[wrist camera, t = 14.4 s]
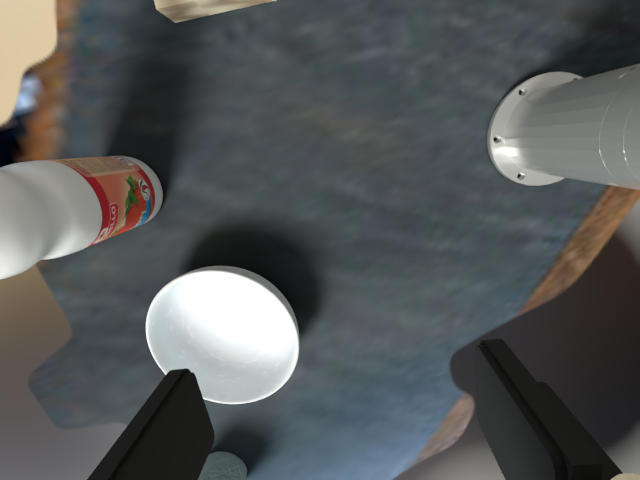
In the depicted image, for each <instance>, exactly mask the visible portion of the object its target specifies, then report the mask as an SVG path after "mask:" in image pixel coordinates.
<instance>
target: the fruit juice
mask: <svg viewBox="0 0 640 480" xmlns="http://www.w3.org/2000/svg"><path fill="white" fill-rule="evenodd" d="M162 201H163V191H162V186H161V183H160V181H159V179H158V177H157V175H156V174H155V173H154V171H153V170H152V169H151V168H150V167H149V166H148V165H146V164H145V163H143V162H142V161H140V160H138V159H135V158H132V157H128V156H104V157H88V158H73V159H57V160H37V161H28V162H21V163H15V164H11V165H7V166H4V167H2V168H0V279H4V278H7V277H10V276H13V275H16V274H19V273H21V272H23V271H25V270H27V269H29V268H30V267H32V266H33V265H35V264H36V263H37V262H38V261H40V260H41V259H53V258H58V257H62V256H65V255H68V254H71V253H74V252H77V251H80V250H82V249H84V248H86V247H89V246H91V245H93V244H96V243H98V242H101V241H103V240H105V239H108V238H110V237H113V236H115V235H118V234H120V233H122V232H125V231H127V230H130V229H132V228H134V227H137V226H139V225H142V224H144V223H146V222H148V221H149V220H151V219H152V218H153V217H154V216H155V215H156V214H157V213H158V211H159V210H160V208H161V205H162Z"/></svg>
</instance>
